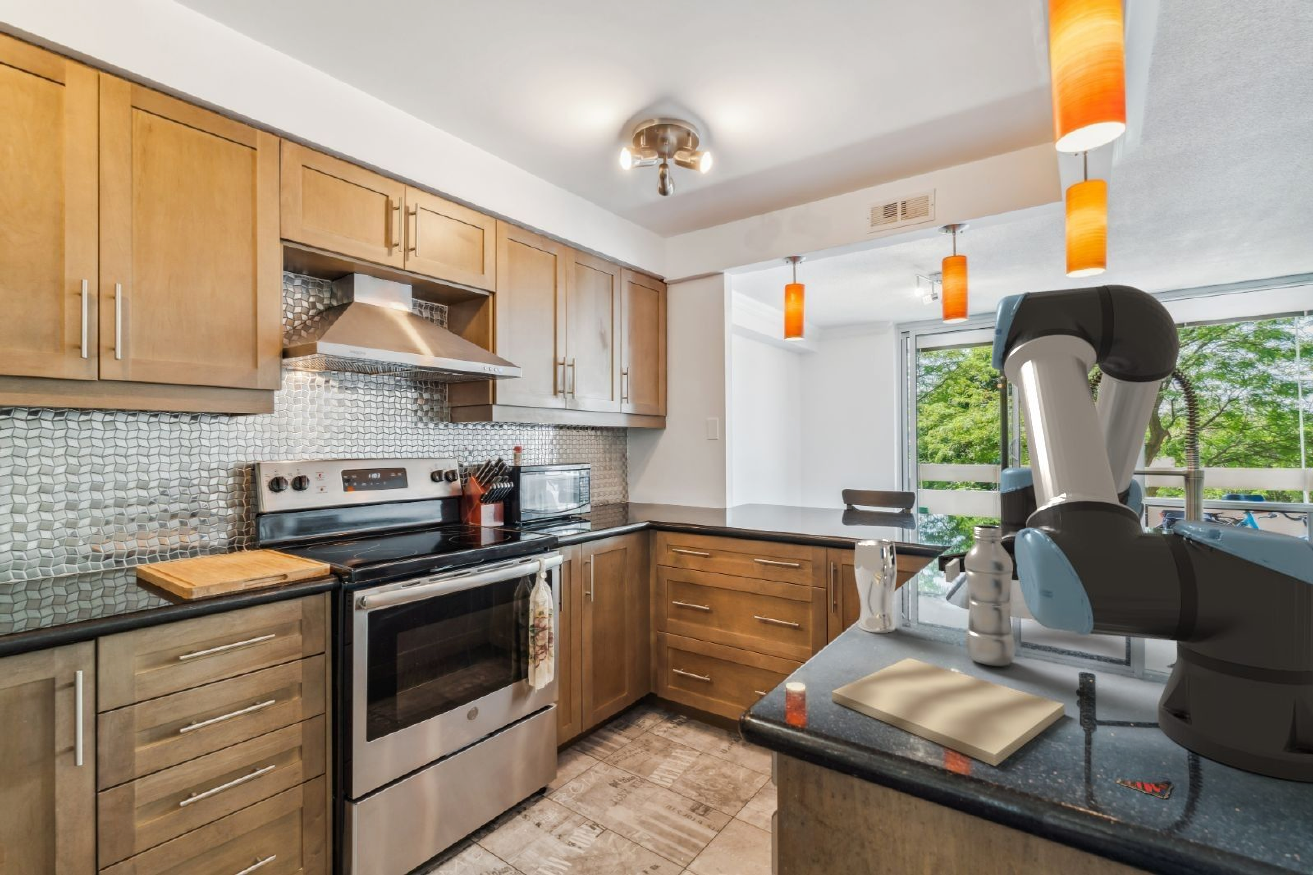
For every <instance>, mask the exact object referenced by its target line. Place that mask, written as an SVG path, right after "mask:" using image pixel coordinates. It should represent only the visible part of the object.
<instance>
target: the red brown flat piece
mask: <svg viewBox="0 0 1313 875" xmlns="http://www.w3.org/2000/svg"><path fill="white" fill-rule="evenodd" d="M1149 774H1152V775H1154V776H1156V777H1157V776H1158V777H1160V778H1162V779H1164V781H1159V782H1143V781H1140V782H1139V781H1137V782H1136V781H1127V780H1123V779H1121V778H1122V777H1119V778H1118V780H1116V783H1117V784H1120V785H1121V786H1125V787H1128V788H1132V789H1135V790H1138V791H1140V792H1143V794H1145V793H1147V794H1150V795H1152V796H1155V797H1158V798H1159V799H1160V798H1161V799H1166V798H1169V795H1170V794H1171V793H1170V792H1171V789H1172V788H1174V787H1173V786H1174V785H1173V783H1172V782H1171V779H1170V778H1168V777H1166V776H1162V775H1158V774H1157V773H1156V774H1155V773H1152V772H1149Z"/></svg>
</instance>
